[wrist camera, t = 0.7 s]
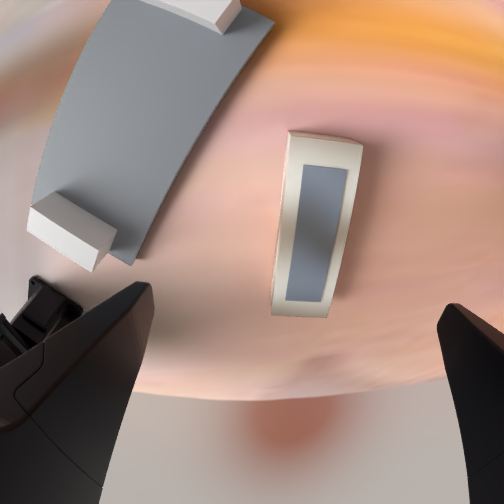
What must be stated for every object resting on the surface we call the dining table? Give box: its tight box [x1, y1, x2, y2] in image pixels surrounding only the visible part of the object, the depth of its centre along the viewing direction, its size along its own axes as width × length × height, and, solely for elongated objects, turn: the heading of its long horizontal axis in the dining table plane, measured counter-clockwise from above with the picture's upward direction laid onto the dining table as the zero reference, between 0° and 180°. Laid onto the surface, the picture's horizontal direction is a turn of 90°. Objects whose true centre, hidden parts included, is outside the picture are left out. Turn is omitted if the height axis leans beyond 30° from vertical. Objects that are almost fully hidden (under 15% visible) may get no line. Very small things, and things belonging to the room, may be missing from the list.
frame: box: [271, 130, 363, 318], centre depth 19 cm, size 12×4×3 cm, turn 176°
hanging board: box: [27, 0, 275, 273], centre depth 15 cm, size 19×10×4 cm, turn 147°
